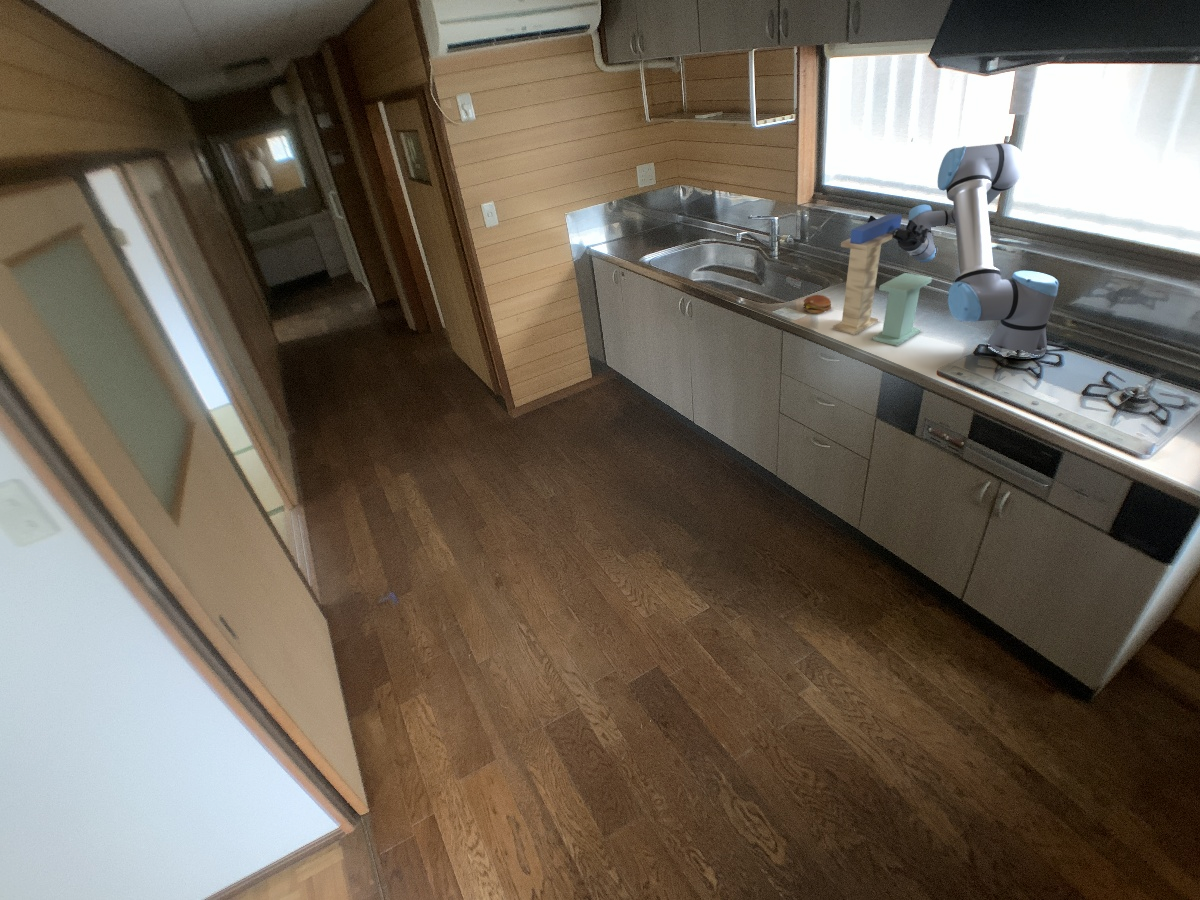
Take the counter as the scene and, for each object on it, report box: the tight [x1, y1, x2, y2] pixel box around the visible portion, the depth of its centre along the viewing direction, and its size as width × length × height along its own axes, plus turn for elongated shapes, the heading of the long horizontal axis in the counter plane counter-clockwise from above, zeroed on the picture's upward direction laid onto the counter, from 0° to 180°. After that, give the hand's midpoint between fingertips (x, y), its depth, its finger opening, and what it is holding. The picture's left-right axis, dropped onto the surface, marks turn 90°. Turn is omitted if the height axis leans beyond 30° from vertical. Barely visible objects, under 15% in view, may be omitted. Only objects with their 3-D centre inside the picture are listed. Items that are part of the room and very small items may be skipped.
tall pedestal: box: [832, 234, 893, 336], centre depth 205 cm, size 15×9×30 cm, turn 129°
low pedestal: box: [872, 272, 933, 347], centre depth 198 cm, size 15×9×18 cm, turn 129°
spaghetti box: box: [849, 213, 903, 244], centre depth 198 cm, size 23×4×4 cm, turn 129°
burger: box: [802, 294, 832, 315], centre depth 227 cm, size 10×9×5 cm
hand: (888, 221), depth 201 cm, fingers open, 13 cm apart
